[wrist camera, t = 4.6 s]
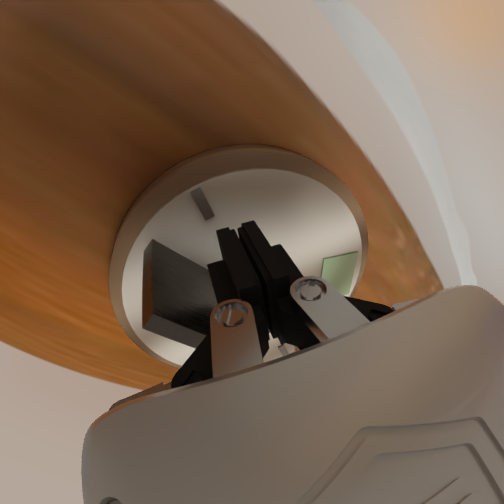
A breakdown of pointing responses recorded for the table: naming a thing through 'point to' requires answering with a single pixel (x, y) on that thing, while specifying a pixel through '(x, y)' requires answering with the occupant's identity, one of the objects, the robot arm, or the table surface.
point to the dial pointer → (176, 296)
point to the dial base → (232, 215)
